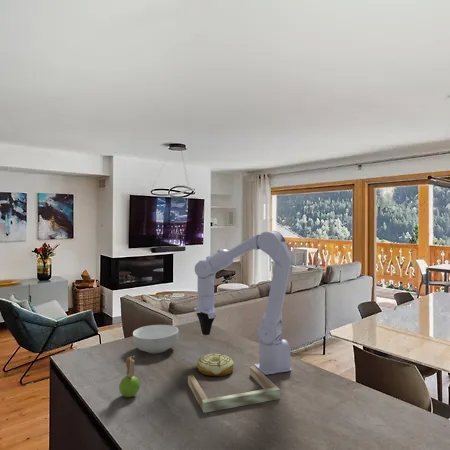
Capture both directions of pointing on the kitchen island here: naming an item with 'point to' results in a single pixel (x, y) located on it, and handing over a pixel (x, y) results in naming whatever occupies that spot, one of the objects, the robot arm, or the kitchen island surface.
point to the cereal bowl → (155, 338)
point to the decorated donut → (215, 365)
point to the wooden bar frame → (239, 399)
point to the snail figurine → (129, 380)
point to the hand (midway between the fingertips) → (205, 334)
